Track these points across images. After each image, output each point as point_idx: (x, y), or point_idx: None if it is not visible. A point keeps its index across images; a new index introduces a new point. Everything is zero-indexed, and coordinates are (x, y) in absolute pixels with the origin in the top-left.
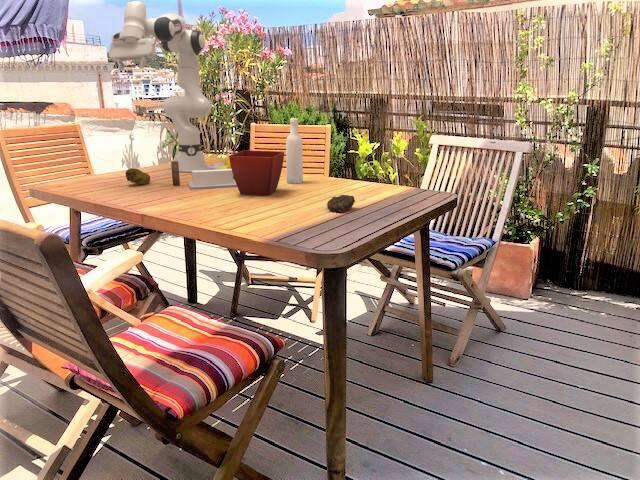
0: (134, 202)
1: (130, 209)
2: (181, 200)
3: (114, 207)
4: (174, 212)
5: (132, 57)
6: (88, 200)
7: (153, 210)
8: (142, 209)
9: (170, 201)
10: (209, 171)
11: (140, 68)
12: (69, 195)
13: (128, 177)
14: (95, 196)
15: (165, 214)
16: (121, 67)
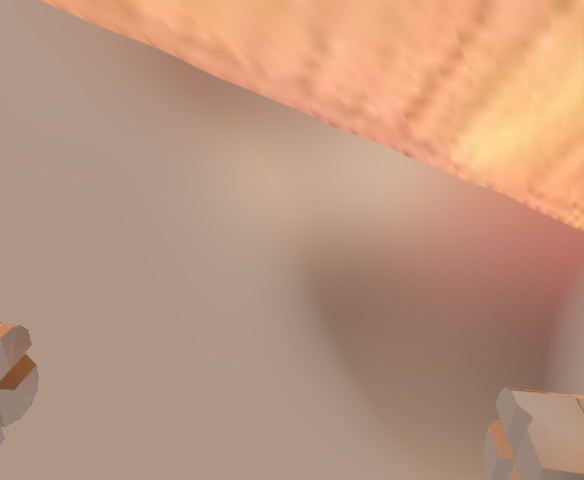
0: (406, 77)
1: (430, 152)
2: (571, 19)
3: (375, 140)
4: (562, 162)
5: None
6: (242, 76)
7: (498, 153)
8: (464, 148)
9: (530, 42)
10: None
11: (507, 399)
12: (114, 15)
13: None
14: (218, 13)
15: (540, 181)
16: (22, 412)
